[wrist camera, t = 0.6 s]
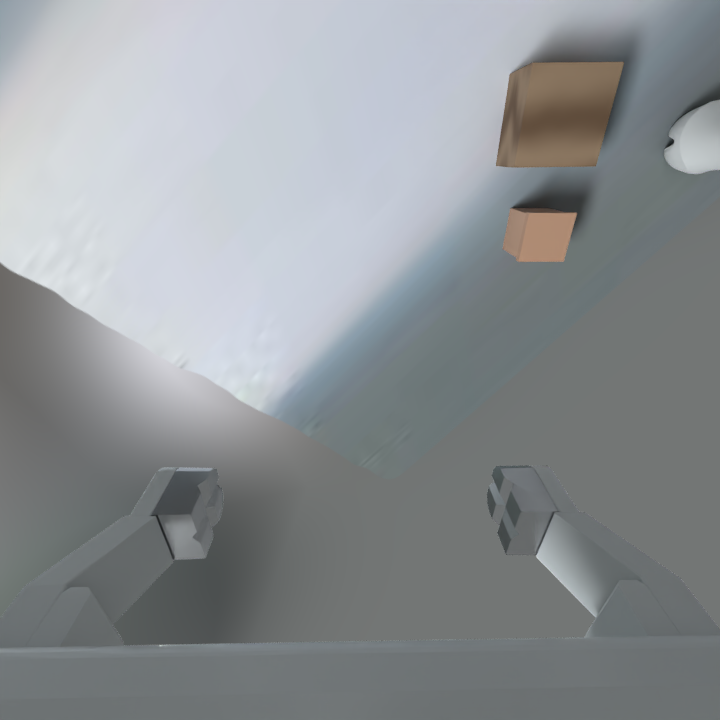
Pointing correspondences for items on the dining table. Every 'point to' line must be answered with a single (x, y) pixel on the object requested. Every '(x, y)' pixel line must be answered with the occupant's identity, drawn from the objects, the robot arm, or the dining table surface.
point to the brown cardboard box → (538, 234)
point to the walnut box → (557, 114)
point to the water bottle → (696, 140)
